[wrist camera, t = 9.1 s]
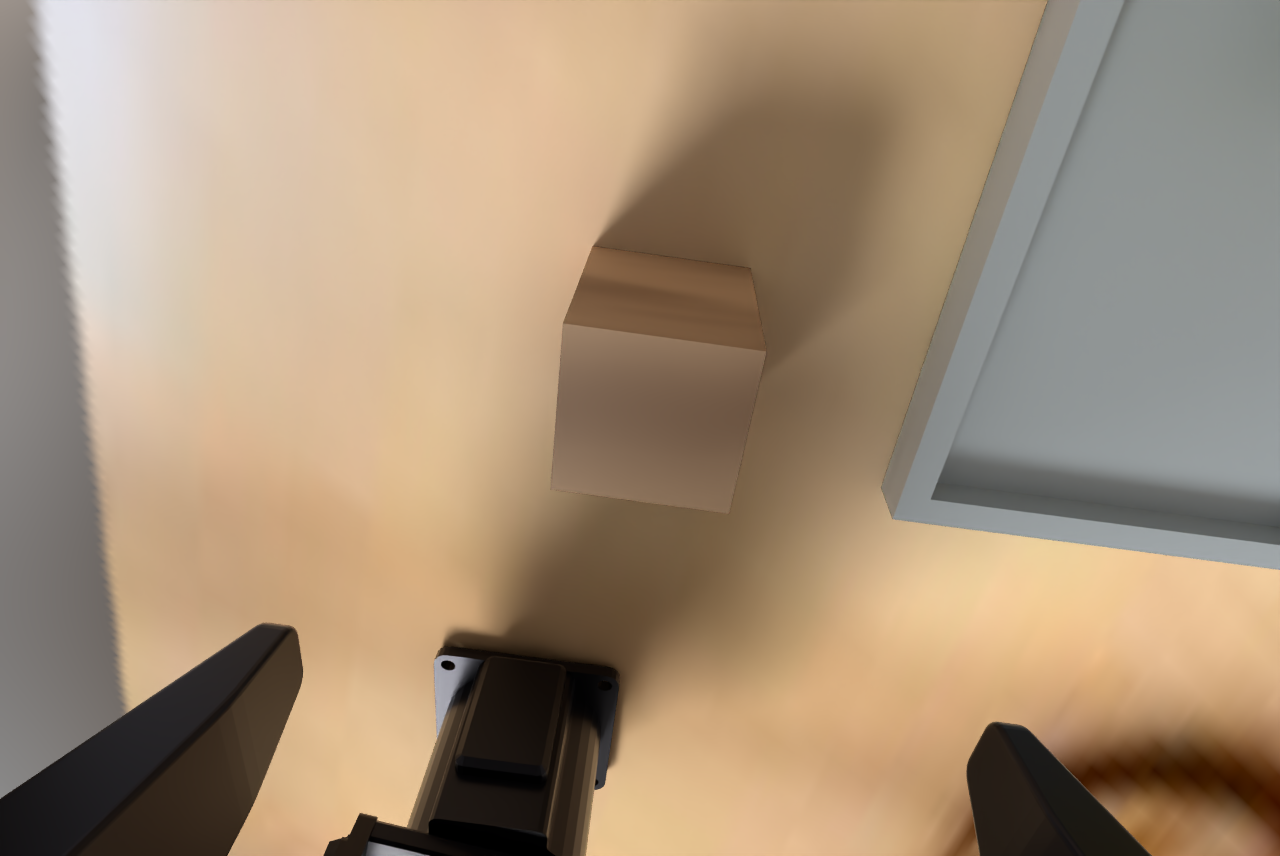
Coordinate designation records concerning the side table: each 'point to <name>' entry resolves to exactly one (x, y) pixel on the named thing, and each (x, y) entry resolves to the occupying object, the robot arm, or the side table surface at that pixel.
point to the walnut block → (657, 380)
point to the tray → (1117, 297)
